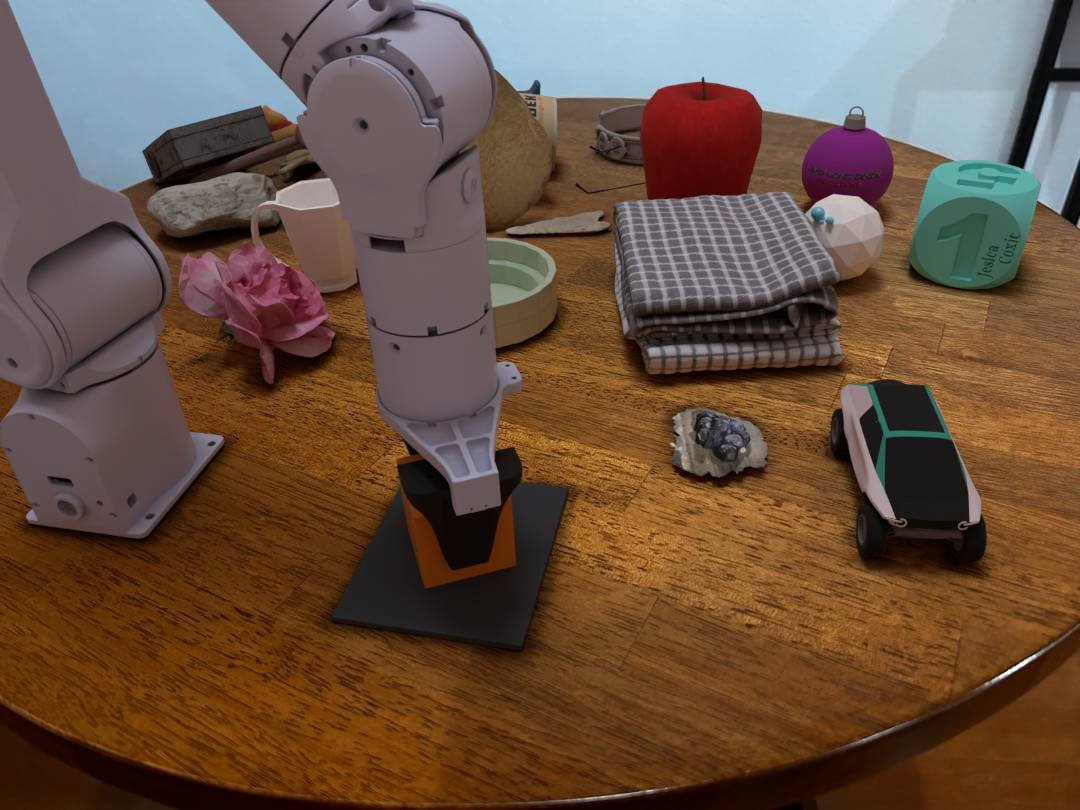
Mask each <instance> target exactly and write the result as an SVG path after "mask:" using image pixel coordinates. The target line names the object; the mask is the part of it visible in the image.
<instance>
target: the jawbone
mask: <svg viewBox="0 0 1080 810" xmlns="http://www.w3.org/2000/svg"><path fill="white" fill-rule="evenodd" d="M285 162H286V163H280V165H279V169H278V170H277V171H276V175H280V176H282V177H283V179H284V180H286V181H288V180H290V179H291V178H292V177H293V175H294V170H295V169H296V168H298V167H300V166H303V165H312V164H317V163H316V161H315V160H314V159H313V157H312V156H311V154H310V152H309V151H308V150H307V149H304V150H299V151H298V150H296V151H293V152H291V153H288V154H286V155H285Z"/></svg>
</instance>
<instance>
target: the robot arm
mask: <svg viewBox="0 0 1080 810" xmlns="http://www.w3.org/2000/svg"><path fill="white" fill-rule="evenodd" d="M204 1H205V2H206V4H208V6H209V7H210V8H211V9H212V10H213V11H214V12H215V13H216V14H217V15H218V16H219V17H220V18H221V19H222V20H223V21H224V22H225V24H227V25H228V26H229V27H230V28H231V29H232V31H233V32H235V34H236V35H238V37H239V38H240V39H241V40H242V41H243V42H244V43H245V44H246V45H247V46H248V47H249V48H250V49H251V50H252V52H254V54H256V55H257V57H259V58H260V59H261V61H262V62H263V63H264V64H265V65H266V66H267V67H268V68H269V69H270V70H271V71H272V72H273V73H274V74H275V75H276V76H277V77H278V79H280V80H281V81H282V82H283V83H284V84H285V85H286V87H287V88H289V90H290V91H291V92H292V93H293V92H294V93H293V94H294V95H295V97H297V98H298V100H299V99H300V100H302V101H303V102H304V103H305V104H306V105H307V107H306V109H305V110H304V111H303V112H302V114H297V116H296V122H297V123H296V124H298V127H299V130H300V133H301V136H302V138H303V141H304V143H305V145H306V147H307V149H308V151H309V152H310V154H311V156H312V157H313V159H314V160H315V161H316V163H315V164H317V165H318V167H319V168H320V170H321V169H322V170H323V171H324V172H325V173H326V175H327V176H328V177H329V178H330V180H331V181H332V183H333V185H334V186H335V189H336V191H337V194H338V198H339V203H340V208H341V213H342V218H343V219H347V220H348V221H349V225H350V230H351V236H352V241H353V247H354V253H355V258H356V264H357V266H356V271H357V275H358V281H359V286H360V291H361V298H362V303H363V309H364V314H365V315H364V316H365V320H366V321H365V322H366V327H367V333H368V337H369V344H370V349H371V355H372V361H373V366H374V373H375V377H376V383H377V385H376V388H375V390H374V395H375V402H376V408H377V412H378V414H379V416H380V418H381V419H382V420H383V422H385V424H387V425H388V426H389V427H390V428H391V429H392V430H393V431H394V432H395V433H396V434H398V435H399V436H400V438H401V440H402V442H403V443H404V446H405V448H406V449H407V451H408V454H409V456H412V455H417V454H421V455H422V456H423V457H424V458H425V459H422V460H418V461H413V462H409V463H404V464H400V465H397V464H396V469H397V474H398V479H399V478H400V480H399V482H400V481H401V485H402V488H403V491H404V494H405V496H406V497H407V499H408V501H409V502H410V503H411V505H412V506H413V507H414V508H415V509H417V510H418V511H419V512H420V513H421V514H422V515H423V516H424V517H425V518H426V519H427V521H428V522H429V523H430V525H431V527H432V528H433V530H434V533H435V535H436V538H437V540H438V543H439V546H440V548H441V551H442V554H443V556H444V558H445V560H446V562H447V564H448V566H449V567H450V569H451V570H453V571H455V570H459V569H463V568H467V567H470V566H474V565H478V564H482V563H486V562H488V561H489V559H490V556H491V552H492V549H493V544H494V540H495V535H496V530H497V525H498V522H499V518H500V515H501V512H502V510H503V507H504V505H505V503H506V501H507V500H508V498H509V496H510V495H511V493H512V492H513V491H514V489H515V488H516V487H517V486H518V485H519V483H520V482H522V478H523V462H522V460H521V458H520V456H519V454H518V452H517V450H516V447H515V446H510V447H506V448H501V449H498V450H497V442H498V436H499V428H500V420H501V416H502V415H501V414H502V406H503V401H504V399H505V398H506V397H507V396H511V395H516V394H518V393H520V392H521V391H522V390H523V389H524V388H523V377H522V374H521V372H520V371H519V368H518V367H517V365H516V364H515V363H514V362H511V361H501V362H498V361H497V352H496V350H497V349H496V348H495V338H494V325H493V313H492V302H491V299H492V298H491V286H490V274H489V261H488V249H487V225H486V224H485V212H484V203H483V193H482V181H481V168H480V156H479V147H478V146H476V145H474V146H472V147H471V148H470V149H468V150H465V151H462V150H463V149H464V148H465V147H466V146H468V145H469V144H470V143H471V142H473V141H474V140H475V139H476V138H477V137H478V136H479V134H480V133H481V131H482V130H483V129H484V128H485V127H486V125H487V124H488V122H489V121H490V119H491V117H492V114H493V112H494V109H495V105H496V99H497V79H496V73H495V70H496V69H495V66H494V61H493V60H492V57H491V55H490V53H489V51H488V48H487V47H486V45H485V43H484V42H483V41H482V39H481V38H480V37H479V35H478V34H477V33H476V31H475V28H474V26H473V24H472V22H471V21H470V19H469V17H467V16H466V15H464V14H463V13H461V12H460V11H458V10H456V9H454V8H452V7H450V6H448V5H445V4H442V3H439V2H438V3H437V2H432V1H431V2H430V1H422V0H204ZM38 71H39V70H38V69H37V67H36V64H35V62H34V59H33V57H32V55H31V53H30V50H29V47H28V44H27V43H26V40H25V38H24V36H23V33H22V31H21V28H20V26H19V24H18V21H17V18H16V16H15V13H14V11H13V8H12V7H11V4H10V2H9V0H0V378H1V379H3V380H5V381H7V382H9V383H11V384H15V385H18V386H20V387H21V389H20V392H19V395H18V397H17V400H16V401H15V403H13V405H12V407H11V409H10V410H9V411H8V412H7V413H6V414H5V416H3V418H2V420H1V421H0V446H1V449H2V452H3V453H4V455H5V458H6V459H7V461H8V463H9V465H10V467H11V469H12V472H13V474H14V475H15V477H16V479H17V481H18V483H19V485H20V486H21V489H22V491H23V493H24V496H25V497H26V499H27V501H28V504H29V505H30V507H31V509H30V510H29V511H28V512H27V514H26V516H25V519H26V521H27V523H28V524H31V525H38V526H42V527H51V528H58V529H66V530H73V531H81V532H87V533H94V534H102V535H107V536H116V537H121V538H129V539H135V540H138V539H139V540H140V539H141V540H142V539H144V538H146V537H148V536H149V535H150V533H152V531H154V529H155V528H156V526H157V525H158V524H159V523H160V521H162V519H163V518H164V517H165V516H166V514H167V513H168V512H169V511H170V510H171V508H172V507H173V506H174V505H175V504H176V503H177V501H178V500H179V499H180V498H181V496H182V495H184V493H185V491H187V489H188V488H189V487H190V486H191V484H192V483H193V482H194V481H195V480H196V478H197V477H198V476H199V475H200V474H201V472H203V470H204V469H205V468H206V466H207V465H208V464H209V462H211V460H212V459H213V458H214V457H215V455H217V453H218V452H219V451H220V449H221V448H222V447H223V446H224V444H225V439H224V436H223V435H220V434H212V433H204V432H202V433H201V432H195V431H194V432H193V431H190V429H189V426H188V424H187V420H186V417H185V414H184V411H183V409H182V405H181V403H180V399H179V396H178V394H177V391H176V387H175V384H174V382H173V379H172V376H171V373H170V370H169V367H168V364H167V361H166V358H165V355H164V353H163V349H162V346H161V343H160V341H159V335H160V333H161V332H162V331H163V330H165V328H166V326H165V322H164V319H163V316H162V313H161V311H162V310H163V309H164V308H165V307H166V306H167V305H168V304H169V302H170V300H171V298H172V294H173V278H172V274H171V270H170V267H169V265H168V262H167V261H166V259H165V257H164V254H163V253H162V251H161V250H160V247H158V246H157V244H156V243H155V242H154V241H153V240H152V238H151V237H150V236H149V235H148V234H147V232H146V231H145V229H144V227H143V226H142V224H141V223H140V221H139V220H138V217H137V215H136V213H135V210H134V208H133V205H132V203H131V200H130V198H129V197H128V196H127V195H126V194H123V193H121V192H120V191H117V190H114V189H113V188H109V187H107V186H104V185H101V184H99V183H97V182H93V181H91V180H88V179H87V178H85V177H83V176H82V175H81V173H80V170H79V168H78V166H77V163H76V160H75V158H74V156H73V153H72V152H71V149H70V146H69V144H68V141H67V139H66V136H65V134H64V131H63V129H62V127H61V124H60V121H59V120H58V117H57V115H56V111H55V110H54V107H53V105H52V102H51V101H50V98H49V96H48V93H47V90H46V88H45V86H44V83H43V82H42V78H41V76H40V74H39V72H38ZM300 100H299V101H300ZM460 151H462V152H460Z"/></svg>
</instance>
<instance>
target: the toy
mask: <svg viewBox="0 0 1080 810" xmlns="http://www.w3.org/2000/svg"><path fill="white" fill-rule="evenodd" d="M261 107H262V109H263V112H264V115H265V117H266V120H267V123H268V125H269V128H270V131H271V133H272V136H273V138H274V142H272V143H270V144H267V145H265V146H263V147H266V146H269V145H271V144H274V143H276V142H279V141H282V140H284V139H287V138H289V137H292V136H295V133H294V132H295V129H296V126H297V125H298V123H294V122H293V121H290V120H288V118H287V117H286V116H285V114H283V113H281V112H278V111H276V110H274V109H272V108H271V107H269V106H268V105H266V104H265V105H262V106H261ZM263 147H262V148H263ZM304 149H305V148H301V149H299V150H304ZM299 150H298V151H299Z"/></svg>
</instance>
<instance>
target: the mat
mask: <svg viewBox="0 0 1080 810" xmlns="http://www.w3.org/2000/svg"><path fill="white" fill-rule="evenodd" d="M568 495H569V487H568V486H561V485H551V484H542V483H533V482H526V481H525V482H524V481H521V482H520V483H519V485H518V486H517V487H516V488H515V489H514V491H513V492H512V493H511V502H512V515H513V529H514V542H515V556H516V566H513V567H509V568H505V569H501V570H497V571H493V572H489V573H486V574H482V575H478V576H474V577H470V578H466V579H462V580H458V581H454V582H450V583H446V584H442V585H438V586H435V587H431V588H427V589H425V588H424V584H423V581H422V577H421V573H420V570H419V566H418V563H417V559H416V556H415V552H414V548H413V545H412V541H411V538H410V534H409V531H408V527H407V521H406V515H405V509H404V503H403V497H402V492H401V486H399V489H398V490H397V492H396V494H395V495H394V498H393V499H392V501H391V503H390V505H389V507H388V509H387V510H386V513H385V514H384V516H383V518H382V520H381V522H380V524H379V526H378V528H377V530H376V532H375V533H374V535H373V537H372V539H371V541H370V543H369V545H368V547H367V549H366V550H365V552H364V554H363V556H362V558H361V560H360V561H359V564H358V565H357V567H356V570H355V571H354V573H353V575H352V576H351V579H350V580H349V582H348V584H347V586H346V588H345V590H344V592H343V594H342V596H341V597H340V599H339V601H338V603H337V605H336V606H335V609H334V611H333V612H332V615H331V616H330V619H331V622H332V623H336V624H343V625H351V626H357V627H364V628H371V629H377V630H381V631H382V630H383V631H390V632H395V633H403V634H408V635H416V636H423V637H429V638H435V639H441V640H447V641H455V642H462V643H467V644H474V645H480V646H487V647H493V648H494V647H495V648H499V649H500V648H501V649H506V650H507V649H508V650H513V651H520V652H523V650H524V646H525V643H526V639H527V635H528V633H529V629H530V626H531V622H532V619H533V615H534V611H535V608H536V605H537V603H538V602H537V601H538V599H539V598H538V597H539V594H540V591H541V588H542V584H543V581H544V578H545V574H546V570H547V567H548V564H549V560H550V557H551V553H552V551H553V547H554V543H555V541H556V536H557V533H558V529H559V526H560V523H561V519H562V515H563V512H564V509H565V505H566V502H567V499H568Z"/></svg>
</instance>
